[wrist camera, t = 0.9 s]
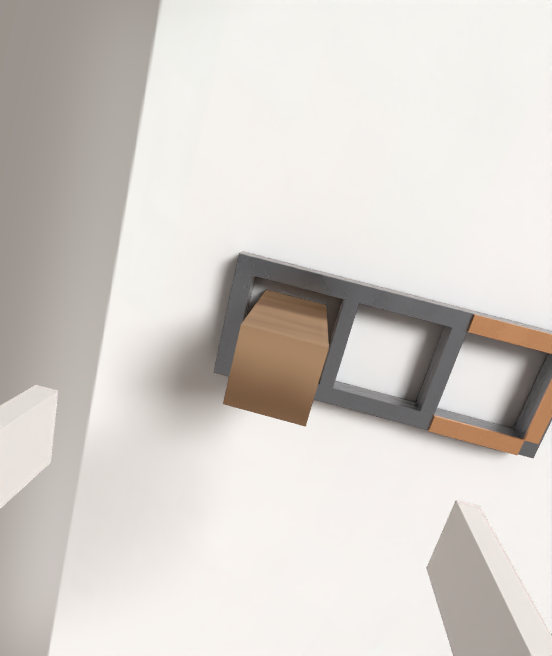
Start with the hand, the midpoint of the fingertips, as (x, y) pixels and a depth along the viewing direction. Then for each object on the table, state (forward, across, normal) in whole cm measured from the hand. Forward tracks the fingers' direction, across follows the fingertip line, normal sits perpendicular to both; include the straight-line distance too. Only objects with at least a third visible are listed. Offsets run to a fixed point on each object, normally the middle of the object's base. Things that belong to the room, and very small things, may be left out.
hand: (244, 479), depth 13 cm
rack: (+18, +8, 0) cm, 20 cm away
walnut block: (+18, 0, 0) cm, 18 cm away
